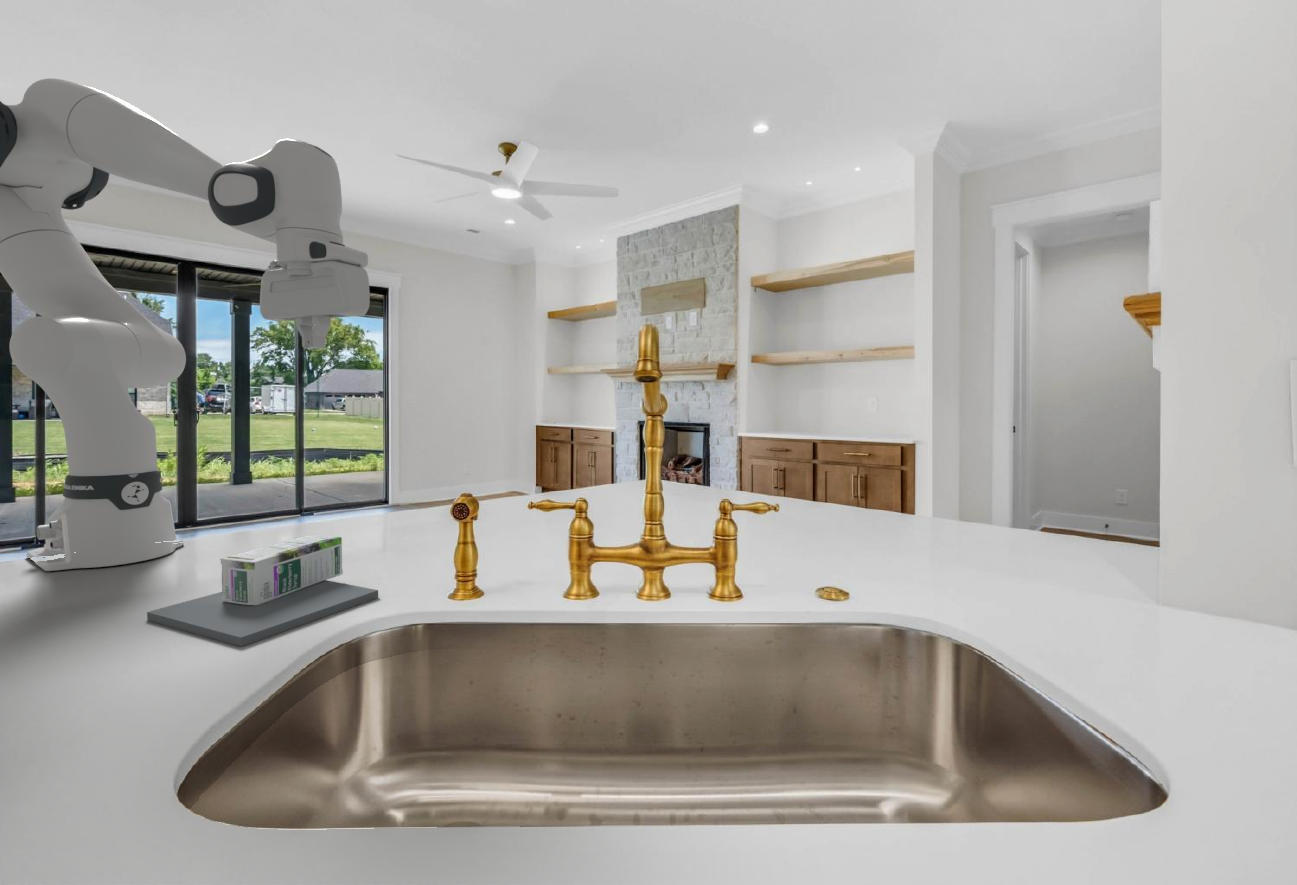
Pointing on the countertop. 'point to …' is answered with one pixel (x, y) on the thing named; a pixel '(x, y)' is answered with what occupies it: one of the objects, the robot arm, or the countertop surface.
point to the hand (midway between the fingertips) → (314, 348)
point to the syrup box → (280, 569)
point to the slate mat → (260, 612)
